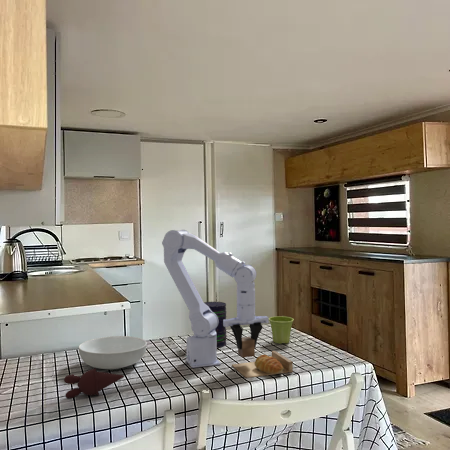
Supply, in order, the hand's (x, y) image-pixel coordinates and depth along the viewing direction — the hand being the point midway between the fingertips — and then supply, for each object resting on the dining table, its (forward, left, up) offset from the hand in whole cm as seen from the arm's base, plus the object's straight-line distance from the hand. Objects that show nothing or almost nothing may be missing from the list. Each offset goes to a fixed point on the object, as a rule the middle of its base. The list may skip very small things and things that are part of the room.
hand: (246, 347), depth 136 cm
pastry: (+5, -6, -6) cm, 10 cm away
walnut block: (0, 0, -2) cm, 2 cm away
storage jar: (-2, +28, -6) cm, 28 cm away
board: (+3, -4, -6) cm, 8 cm away
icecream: (-46, -7, -6) cm, 47 cm away
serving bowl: (-39, +16, -6) cm, 43 cm away
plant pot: (+23, +22, -6) cm, 32 cm away
